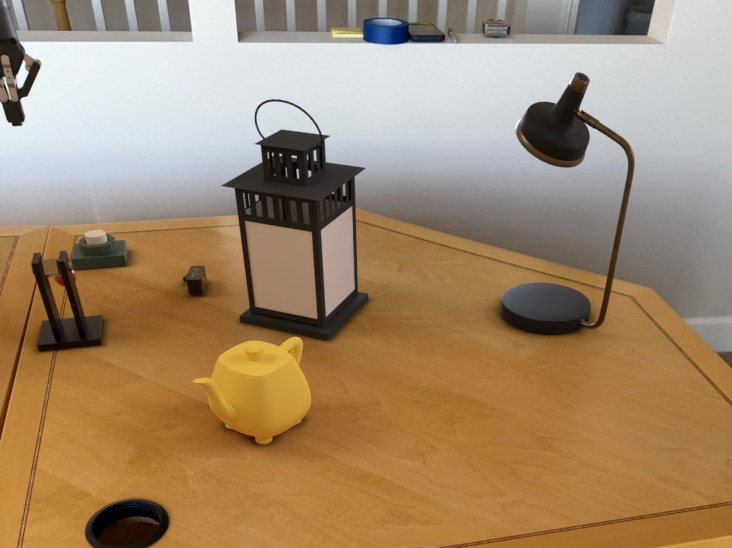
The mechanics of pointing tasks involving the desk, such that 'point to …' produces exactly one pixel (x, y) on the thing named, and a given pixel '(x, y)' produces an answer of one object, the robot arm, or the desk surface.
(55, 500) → the desk surface
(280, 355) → the teapot
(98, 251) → the lamp box
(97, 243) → the button
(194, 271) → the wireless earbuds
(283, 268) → the lantern
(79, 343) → the switch bracket
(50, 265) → the switch lever
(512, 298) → the lamp
